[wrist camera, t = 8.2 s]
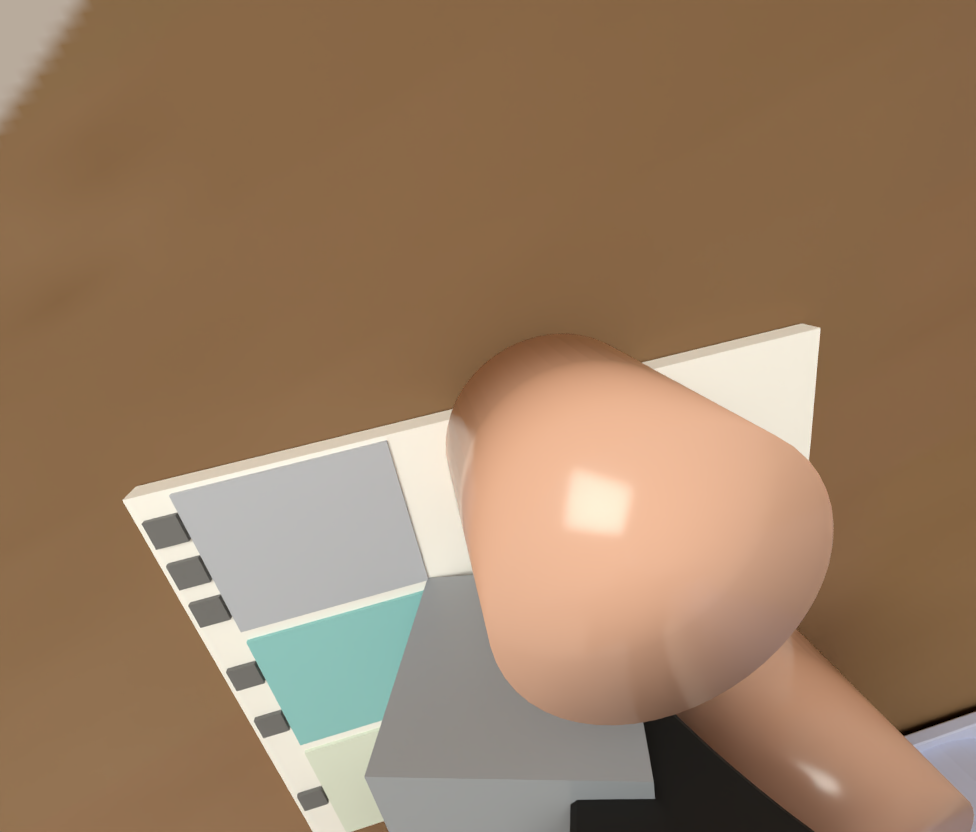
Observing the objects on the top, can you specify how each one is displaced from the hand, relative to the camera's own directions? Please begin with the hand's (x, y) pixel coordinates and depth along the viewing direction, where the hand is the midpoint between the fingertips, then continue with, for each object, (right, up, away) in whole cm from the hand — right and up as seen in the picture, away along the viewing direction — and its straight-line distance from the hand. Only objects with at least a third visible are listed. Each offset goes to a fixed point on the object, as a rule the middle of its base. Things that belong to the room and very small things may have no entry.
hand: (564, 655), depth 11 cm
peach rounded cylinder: (+5, -2, +3) cm, 6 cm away
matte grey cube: (-1, 0, 0) cm, 1 cm away
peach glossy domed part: (0, +5, -1) cm, 5 cm away
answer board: (-1, +1, +1) cm, 2 cm away
